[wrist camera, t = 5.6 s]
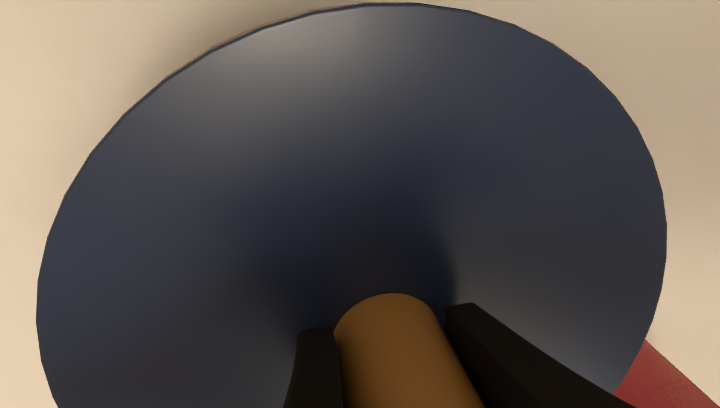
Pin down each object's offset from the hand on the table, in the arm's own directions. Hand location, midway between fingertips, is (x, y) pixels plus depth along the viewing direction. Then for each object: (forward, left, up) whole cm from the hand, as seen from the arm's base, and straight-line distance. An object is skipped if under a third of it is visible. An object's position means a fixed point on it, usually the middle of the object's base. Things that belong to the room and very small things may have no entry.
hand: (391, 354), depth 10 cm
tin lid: (0, 0, -1) cm, 1 cm away
